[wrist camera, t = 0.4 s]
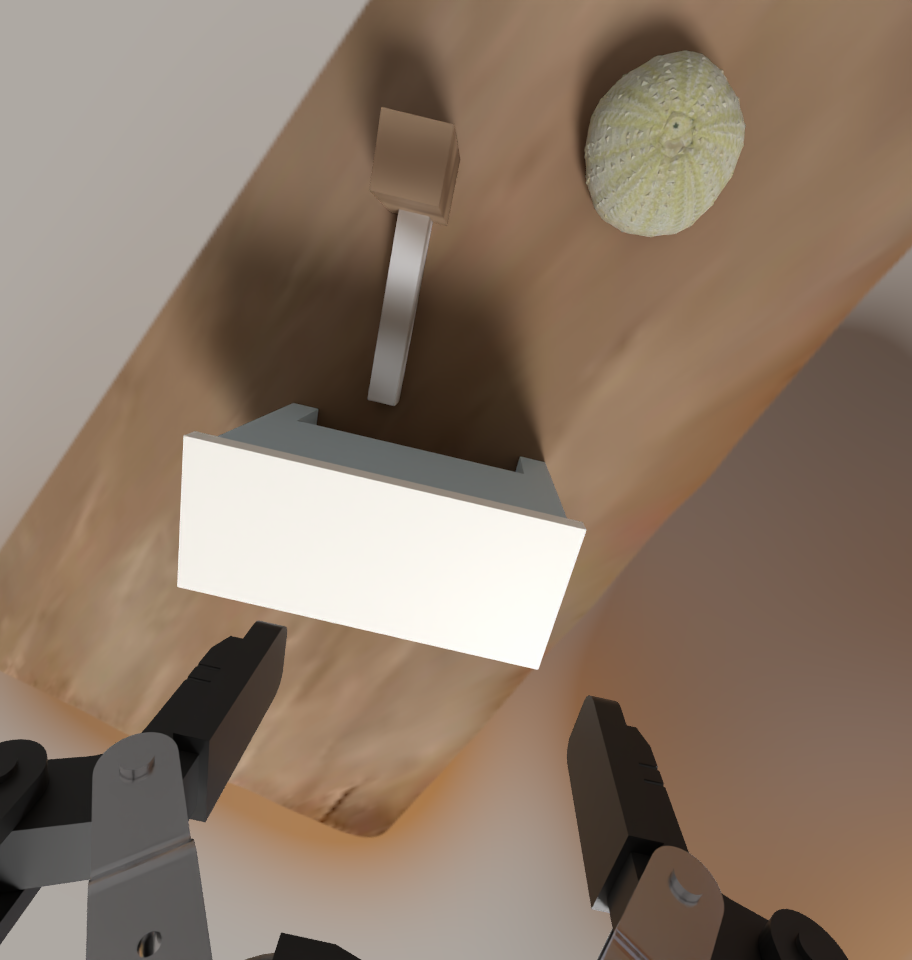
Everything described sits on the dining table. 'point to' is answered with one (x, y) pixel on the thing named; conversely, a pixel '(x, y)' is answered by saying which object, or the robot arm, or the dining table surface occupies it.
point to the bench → (376, 535)
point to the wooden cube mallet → (408, 228)
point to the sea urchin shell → (663, 144)
